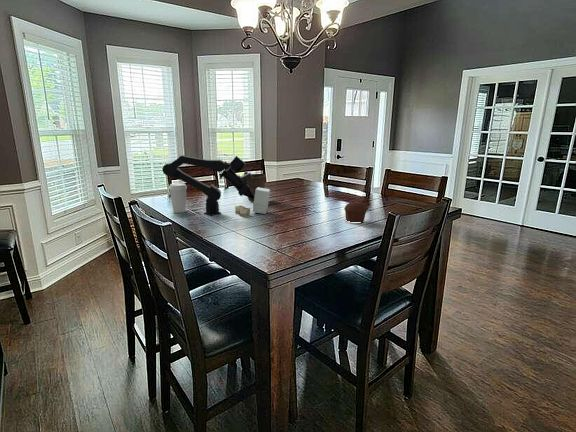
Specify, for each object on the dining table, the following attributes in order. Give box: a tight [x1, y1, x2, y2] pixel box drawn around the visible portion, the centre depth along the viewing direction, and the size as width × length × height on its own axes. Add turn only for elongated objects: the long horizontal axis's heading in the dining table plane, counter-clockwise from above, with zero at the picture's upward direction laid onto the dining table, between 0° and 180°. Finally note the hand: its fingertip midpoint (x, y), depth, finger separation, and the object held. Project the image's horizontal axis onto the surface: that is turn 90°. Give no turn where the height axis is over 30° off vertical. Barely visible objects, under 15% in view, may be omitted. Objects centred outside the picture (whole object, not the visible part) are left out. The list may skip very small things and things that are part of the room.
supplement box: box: [252, 187, 271, 215], centre depth 185 cm, size 7×7×13 cm
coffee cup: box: [168, 182, 188, 214], centre depth 185 cm, size 10×10×15 cm
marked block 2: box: [239, 207, 251, 218], centre depth 179 cm, size 4×4×4 cm
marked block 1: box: [234, 205, 246, 216], centre depth 184 cm, size 4×4×4 cm
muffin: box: [344, 201, 369, 223], centre depth 171 cm, size 12×11×10 cm
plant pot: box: [241, 173, 267, 202], centre depth 215 cm, size 15×15×16 cm
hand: (254, 198), depth 185 cm, fingers closed
